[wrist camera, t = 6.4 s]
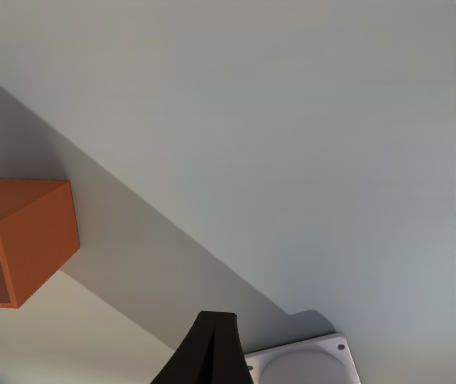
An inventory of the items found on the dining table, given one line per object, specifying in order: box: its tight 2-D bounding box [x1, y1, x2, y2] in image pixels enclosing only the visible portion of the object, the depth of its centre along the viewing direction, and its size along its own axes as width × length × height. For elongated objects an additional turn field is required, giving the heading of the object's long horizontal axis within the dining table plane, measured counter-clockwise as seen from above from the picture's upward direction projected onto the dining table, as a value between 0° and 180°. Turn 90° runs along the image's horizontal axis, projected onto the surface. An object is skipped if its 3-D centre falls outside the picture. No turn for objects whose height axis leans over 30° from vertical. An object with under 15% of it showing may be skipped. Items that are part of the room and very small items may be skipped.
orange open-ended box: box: [0, 178, 80, 309], centre depth 20 cm, size 6×5×5 cm
